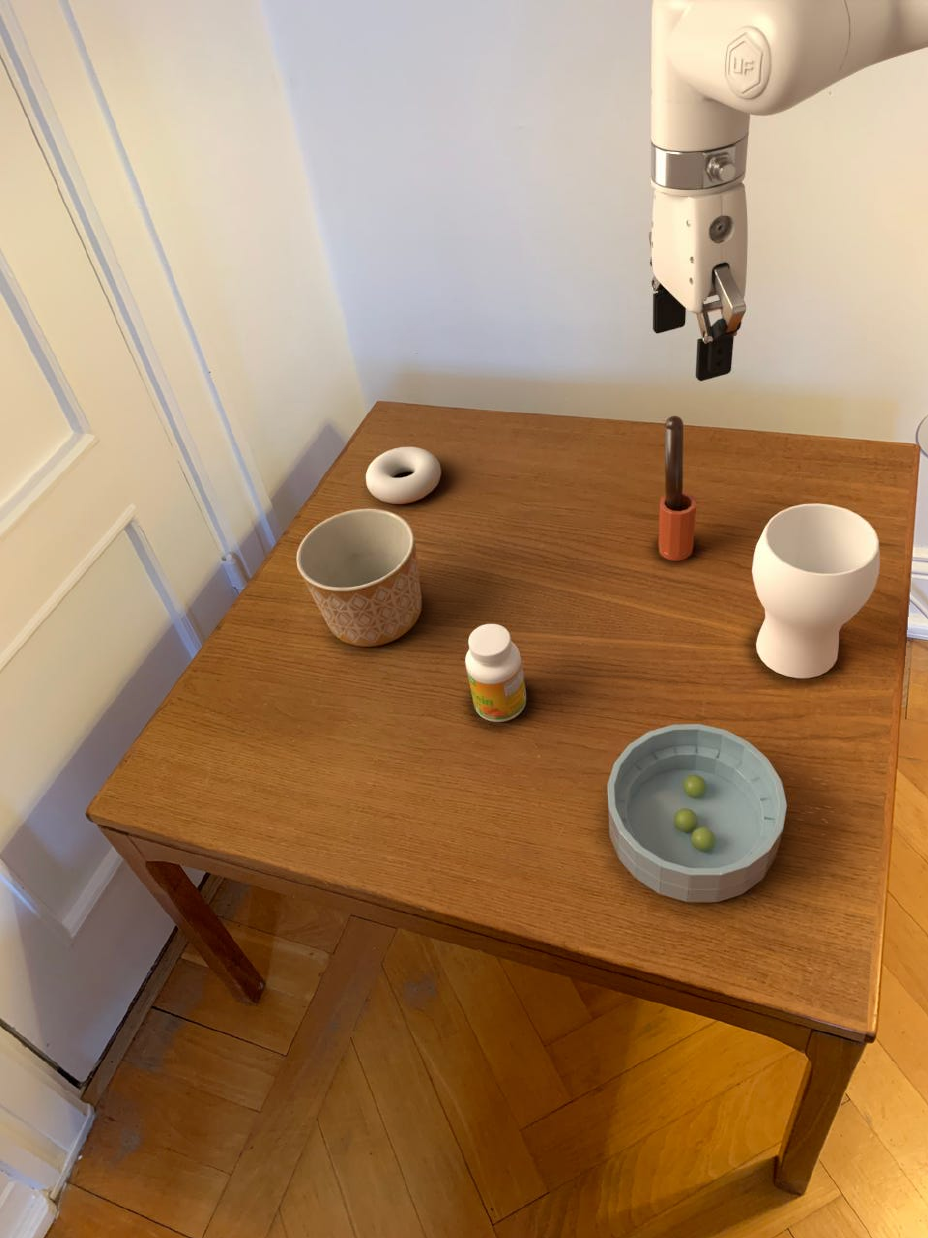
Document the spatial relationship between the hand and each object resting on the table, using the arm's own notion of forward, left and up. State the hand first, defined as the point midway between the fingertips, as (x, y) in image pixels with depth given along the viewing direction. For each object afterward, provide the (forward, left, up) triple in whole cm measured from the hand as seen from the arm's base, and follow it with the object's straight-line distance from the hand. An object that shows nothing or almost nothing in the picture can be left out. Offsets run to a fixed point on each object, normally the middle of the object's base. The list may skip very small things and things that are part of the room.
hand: (690, 351), depth 81 cm
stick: (+1, +1, -24) cm, 24 cm away
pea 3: (+14, +36, -23) cm, 45 cm away
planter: (+36, -2, -25) cm, 44 cm away
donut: (+28, -24, -25) cm, 44 cm away
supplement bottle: (+26, +15, -25) cm, 39 cm away
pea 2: (+15, +34, -23) cm, 44 cm away
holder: (+1, +1, -24) cm, 24 cm away
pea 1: (+12, +31, -23) cm, 41 cm away
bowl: (+14, +34, -24) cm, 44 cm away
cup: (-4, +19, -25) cm, 31 cm away
